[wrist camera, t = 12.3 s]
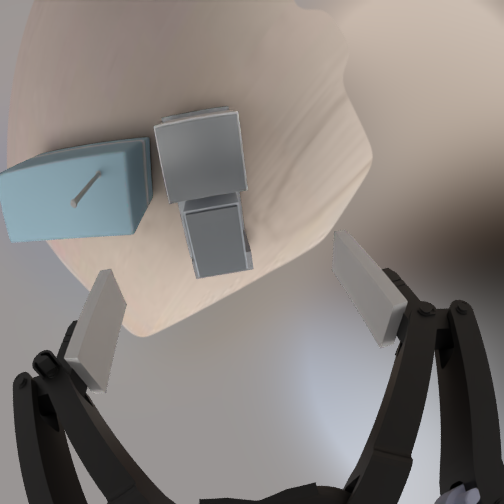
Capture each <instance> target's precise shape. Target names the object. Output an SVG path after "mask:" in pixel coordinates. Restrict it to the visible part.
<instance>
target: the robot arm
mask: <svg viewBox="0 0 504 504" xmlns="http://www.w3.org/2000/svg"><path fill="white" fill-rule="evenodd" d="M332 271H333V272H334V274H335V275H336V277H337V279H338V280H339V282H340V283H341V285H342V286H343V288H344V289H345V291H346V293H347V294H348V296H349V297H350V299H351V301H352V302H353V304H354V305H355V307H356V309H357V310H358V312H359V313H360V315H361V317H362V318H363V320H364V322H365V323H366V325H367V327H368V328H369V330H370V332H371V333H372V335H373V337H374V338H375V340H376V342H377V343H378V345H379V347H380V348H383V347H385V346H388V345H391V344H393V343H394V341H395V338H396V336H397V337H398V338H399V340H400V344H399V346H398V348H397V351H396V353H395V355H396V358H395V361H394V365H393V368H392V372H391V376H390V379H389V382H388V385H387V388H386V392H385V395H384V398H383V401H382V404H381V406H380V409H379V412H378V415H377V417H376V420H375V423H374V425H373V428H372V431H371V433H370V436H369V438H368V440H367V443H366V445H365V447H364V450H363V452H362V454H361V457H360V459H359V461H358V463H357V465H356V467H355V469H354V470H353V472H352V474H351V475H350V477H349V479H348V481H347V483H346V485H345V487H344V489H339V488H336V487H330V486H316V483H311V484H308V485H303V486H300V487H295V488H291V489H286V490H284V491H282V492H280V493H277V494H275V495H272V496H270V497H268V498H265V499H262V500H259V501H252V500H242V499H233V498H219V499H200V504H397V503H398V501H399V498H400V496H401V493H402V491H403V489H404V486H405V484H406V481H407V478H408V476H409V473H410V470H411V467H412V462H413V459H412V458H411V453H412V450H413V447H414V443H415V440H416V437H417V433H418V430H419V426H420V422H421V418H422V414H423V410H424V406H425V401H426V397H427V392H428V386H429V381H430V376H431V370H432V364H433V356H434V350H435V357H436V366H437V374H438V385H439V396H440V416H441V457H440V481H439V484H440V495H441V496H440V497H439V498H438V499H437V500H436V502H435V504H504V465H503V461H502V459H501V440H500V429H499V419H498V411H497V404H496V399H495V392H494V387H493V382H492V377H491V372H490V368H489V364H488V359H487V355H486V352H485V348H484V344H483V340H482V337H481V334H480V330H479V327H478V324H477V321H476V318H475V315H474V312H473V309H472V308H471V306H470V305H469V304H468V303H467V302H465V301H462V300H455V301H453V302H452V303H451V305H450V307H449V309H436V308H435V307H434V306H433V305H432V304H431V303H428V302H424V301H420V300H419V299H418V298H417V296H416V295H415V294H414V293H413V292H412V290H411V289H410V288H409V287H408V286H407V285H406V284H405V282H404V281H403V280H401V278H400V277H399V275H398V274H397V273H395V272H394V271H392V270H391V269H389V268H386V269H381V268H380V267H379V266H378V265H377V264H376V263H375V262H374V260H373V259H372V258H371V257H370V256H369V255H368V253H367V252H366V251H365V250H364V249H363V248H362V247H361V246H360V244H359V243H358V242H357V241H356V240H355V239H354V238H353V237H352V236H351V234H350V233H349V232H348V231H347V230H341V231H335V232H334V248H333V265H332ZM126 305H127V304H126V302H125V300H124V298H123V295H122V293H121V291H120V289H119V286H118V284H117V282H116V279H115V277H114V275H113V272H112V270H111V269H107V270H102V271H100V272H99V274H98V276H97V278H96V281H95V283H94V285H93V287H92V289H91V291H90V294H89V296H88V298H87V300H86V303H85V305H84V307H83V310H82V312H81V315H80V317H79V319H78V320H76V321H73V322H72V324H71V325H70V326H69V327H68V329H67V332H66V334H65V337H64V339H63V343H62V344H61V347H60V349H59V352H58V355H57V358H56V357H55V356H54V354H53V353H52V352H51V351H49V350H44V351H42V352H40V353H39V354H38V355H37V356H36V357H35V358H34V361H33V369H34V370H35V371H36V372H37V373H38V374H39V376H37V377H34V378H32V377H31V376H30V375H29V373H27V372H23V373H21V374H19V375H18V376H17V377H16V378H15V380H14V382H13V407H14V422H15V433H16V442H17V448H18V456H19V462H20V467H21V473H22V477H23V482H24V486H25V490H26V494H27V498H28V502H29V504H88V503H87V501H86V498H85V496H84V493H83V491H82V488H81V485H80V482H79V480H78V477H77V474H76V471H75V467H74V464H73V461H72V458H71V454H70V451H69V447H68V443H67V439H66V435H65V431H66V434H67V435H68V438H69V440H70V441H71V443H72V445H73V447H74V449H75V451H76V452H77V454H78V456H79V458H80V459H81V461H82V463H83V464H84V466H85V467H86V469H87V471H88V472H89V474H90V476H91V477H92V478H93V480H94V481H95V483H96V485H97V486H98V488H99V489H100V490H101V492H102V493H103V495H104V496H105V497H106V499H107V501H108V503H107V504H175V503H174V502H173V501H172V500H170V499H169V498H168V497H166V496H165V495H164V494H163V493H162V492H161V491H160V490H159V489H158V488H157V486H156V485H155V484H154V483H153V482H152V481H151V480H150V479H149V478H148V477H147V475H146V474H145V473H144V472H143V471H142V469H141V468H140V467H139V466H138V465H137V464H136V462H135V461H134V460H133V459H132V457H131V456H130V455H129V454H128V452H127V451H126V450H125V449H124V447H123V446H122V445H121V443H120V442H119V440H118V439H117V438H116V436H115V435H114V434H113V432H112V431H111V429H110V428H109V426H108V425H107V424H106V422H105V421H104V419H103V418H102V416H101V415H100V413H99V411H98V410H97V408H96V407H95V405H94V404H93V402H92V400H91V399H90V397H89V396H88V395H87V394H86V390H87V387H88V388H89V389H90V390H91V391H92V392H93V393H106V391H107V385H108V380H109V375H110V370H111V366H112V361H113V357H114V352H115V347H116V344H117V339H118V335H119V332H120V328H121V324H122V320H123V316H124V313H125V309H126ZM64 430H65V431H64Z"/></svg>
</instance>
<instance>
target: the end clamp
mask: <svg viewBox="0 0 504 504" xmlns="http://www.w3.org/2000/svg"><path fill="white" fill-rule="evenodd" d="M243 236H244V243H245V250H246V257H247V264H248V268H247V270H251V269H253V263H252V255H251V250H250V246H249V243H248V240H247V236H246V233H245V230H243ZM192 264H193V268H194V272H195V275H196V279H199V278H200V277H199V276H198V272H197V268H196V264H194V260H193V256H192ZM242 271H246V270H242ZM236 272H240V271H236ZM230 273H234V272H230ZM225 274H228V273H225ZM219 275H222V274H219ZM213 276H216V275H213ZM207 277H211V276H207ZM201 278H205V277H201Z"/></svg>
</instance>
